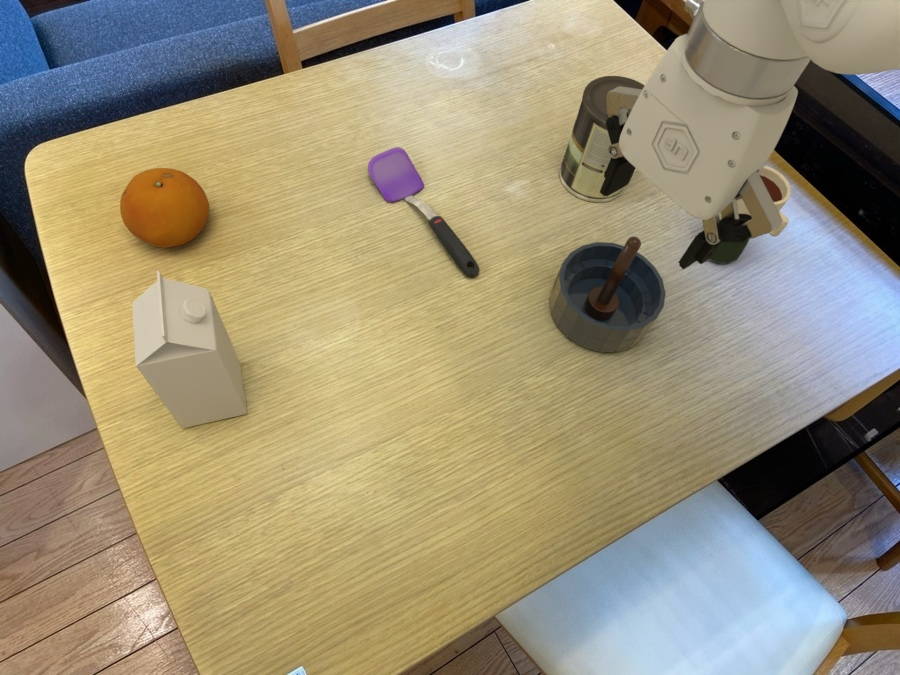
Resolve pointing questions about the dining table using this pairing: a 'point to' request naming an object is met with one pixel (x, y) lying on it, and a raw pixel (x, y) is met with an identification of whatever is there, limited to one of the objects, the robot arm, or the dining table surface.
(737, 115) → the robot arm
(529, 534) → the dining table surface
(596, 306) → the brown wooden pestle
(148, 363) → the milk carton
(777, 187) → the character mug
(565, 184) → the coffee can
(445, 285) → the dining table surface
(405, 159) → the spatula
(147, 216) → the fruit
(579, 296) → the bowl
